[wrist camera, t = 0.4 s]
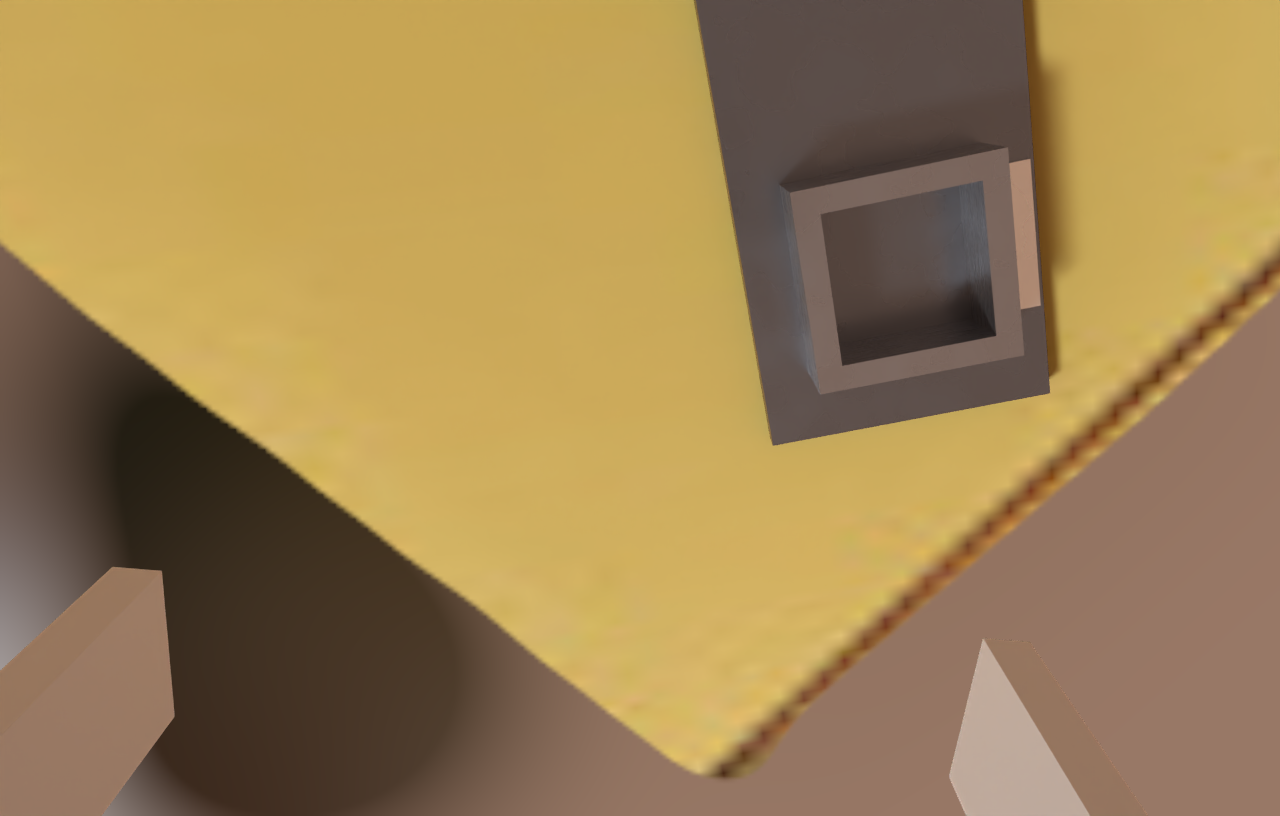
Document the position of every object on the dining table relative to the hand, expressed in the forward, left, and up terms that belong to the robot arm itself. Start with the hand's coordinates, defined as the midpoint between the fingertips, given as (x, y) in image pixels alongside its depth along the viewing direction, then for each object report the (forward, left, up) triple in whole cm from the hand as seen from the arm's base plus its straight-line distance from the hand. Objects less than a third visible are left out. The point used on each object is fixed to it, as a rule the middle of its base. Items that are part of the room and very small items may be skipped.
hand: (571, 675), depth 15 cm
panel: (-8, +11, -27) cm, 30 cm away
